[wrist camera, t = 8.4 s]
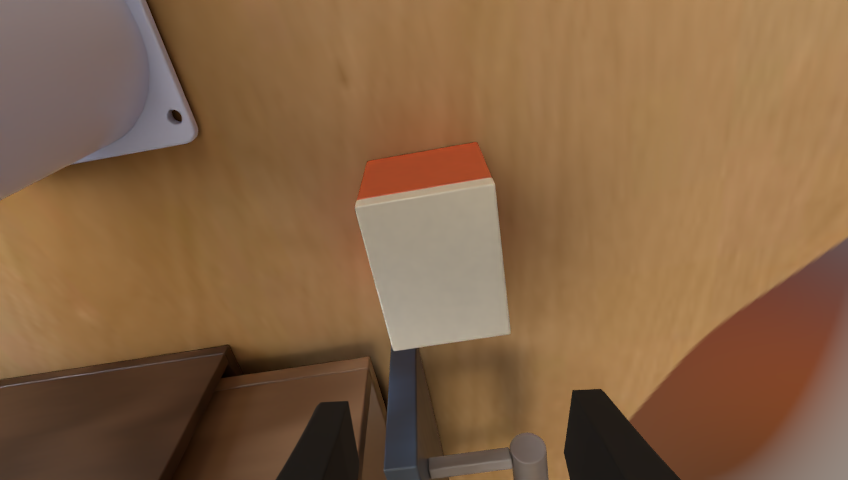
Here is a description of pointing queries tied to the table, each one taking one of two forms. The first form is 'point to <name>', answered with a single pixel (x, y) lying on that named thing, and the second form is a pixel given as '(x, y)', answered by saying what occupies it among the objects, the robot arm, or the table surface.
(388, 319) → the carton
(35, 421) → the cabinet
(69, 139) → the robot arm
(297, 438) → the drawer
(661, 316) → the table surface
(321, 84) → the table surface
